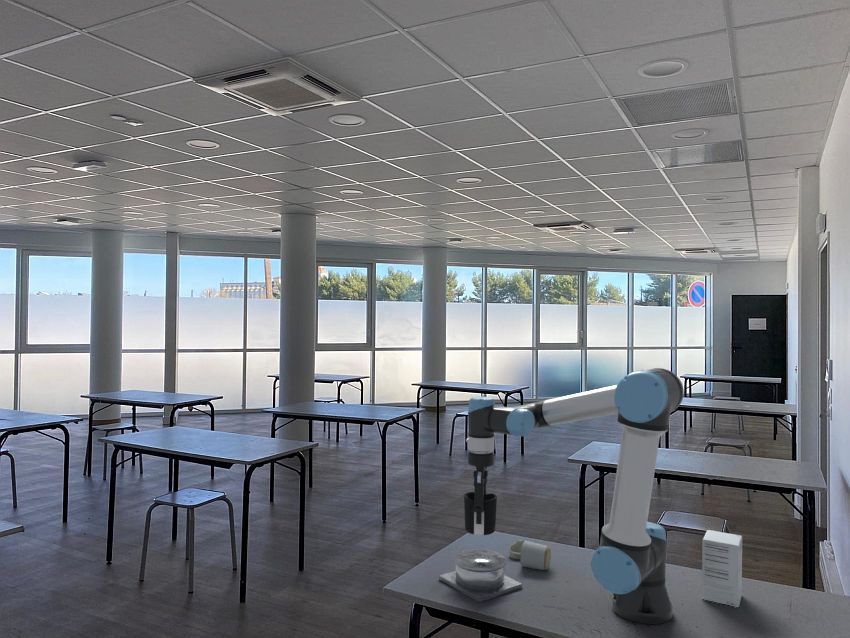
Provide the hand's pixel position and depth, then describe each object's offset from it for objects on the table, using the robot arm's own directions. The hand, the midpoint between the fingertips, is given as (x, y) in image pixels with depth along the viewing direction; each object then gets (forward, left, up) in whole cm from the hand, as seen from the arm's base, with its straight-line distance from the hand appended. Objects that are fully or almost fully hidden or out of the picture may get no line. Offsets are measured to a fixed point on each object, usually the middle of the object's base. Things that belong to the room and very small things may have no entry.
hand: (480, 528), depth 180 cm
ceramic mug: (0, -23, -16) cm, 28 cm away
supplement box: (-45, -49, -16) cm, 69 cm away
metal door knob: (0, 0, -16) cm, 16 cm away
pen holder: (0, 0, -1) cm, 1 cm away
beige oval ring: (+8, -25, -16) cm, 31 cm away
